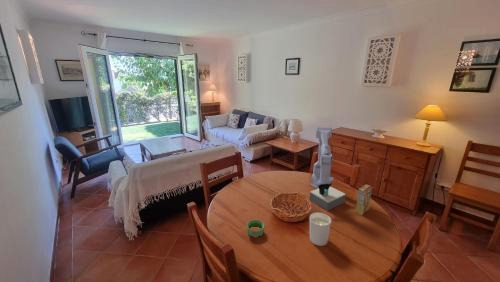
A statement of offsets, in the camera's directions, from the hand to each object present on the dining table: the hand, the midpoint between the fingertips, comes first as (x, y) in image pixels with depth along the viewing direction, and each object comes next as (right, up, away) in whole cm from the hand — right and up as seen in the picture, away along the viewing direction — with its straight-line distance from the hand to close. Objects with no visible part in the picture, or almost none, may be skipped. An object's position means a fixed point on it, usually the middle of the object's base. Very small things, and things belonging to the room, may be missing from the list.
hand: (323, 193), depth 133 cm
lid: (+3, -1, +2) cm, 4 cm away
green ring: (-43, -15, -22) cm, 50 cm away
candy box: (+21, -9, -7) cm, 23 cm away
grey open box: (+4, -6, +4) cm, 8 cm away
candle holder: (-12, -16, -28) cm, 34 cm away
